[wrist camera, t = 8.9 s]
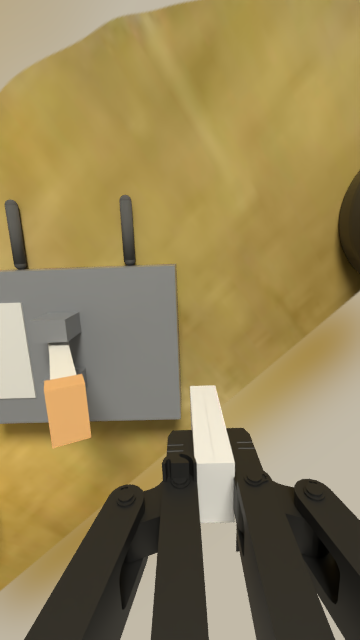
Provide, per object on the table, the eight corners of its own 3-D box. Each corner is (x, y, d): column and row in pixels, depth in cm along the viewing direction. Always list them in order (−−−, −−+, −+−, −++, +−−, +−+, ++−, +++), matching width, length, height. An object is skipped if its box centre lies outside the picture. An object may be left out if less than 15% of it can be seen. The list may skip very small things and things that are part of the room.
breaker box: (176, 263, 32) (173, 267, 24) (181, 396, 35) (180, 439, 27) (-20, 270, 32) (-90, 276, 24) (4, 401, 36) (-50, 445, 28)
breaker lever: (69, 334, 28) (84, 383, 17) (74, 369, 29) (91, 437, 18) (45, 338, 27) (44, 391, 16) (50, 373, 28) (52, 448, 17)
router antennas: (131, 195, 30) (129, 193, 29) (136, 265, 32) (134, 265, 31) (8, 200, 31) (1, 198, 30) (18, 269, 32) (12, 270, 31)
